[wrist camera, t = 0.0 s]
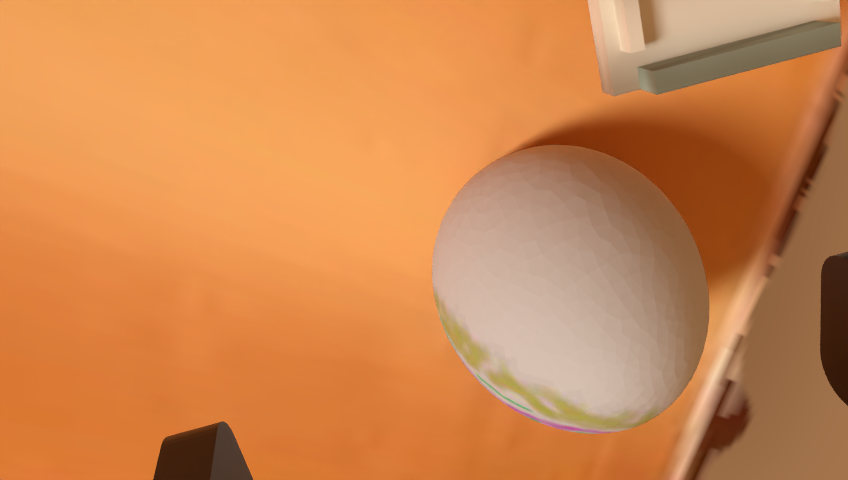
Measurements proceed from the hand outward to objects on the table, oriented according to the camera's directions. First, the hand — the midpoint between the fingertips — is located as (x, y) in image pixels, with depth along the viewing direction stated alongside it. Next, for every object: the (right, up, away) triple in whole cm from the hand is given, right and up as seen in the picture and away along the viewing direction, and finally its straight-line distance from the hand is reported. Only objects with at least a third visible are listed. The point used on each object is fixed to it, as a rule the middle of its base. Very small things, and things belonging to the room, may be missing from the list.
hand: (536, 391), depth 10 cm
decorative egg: (+4, +3, +32) cm, 33 cm away
